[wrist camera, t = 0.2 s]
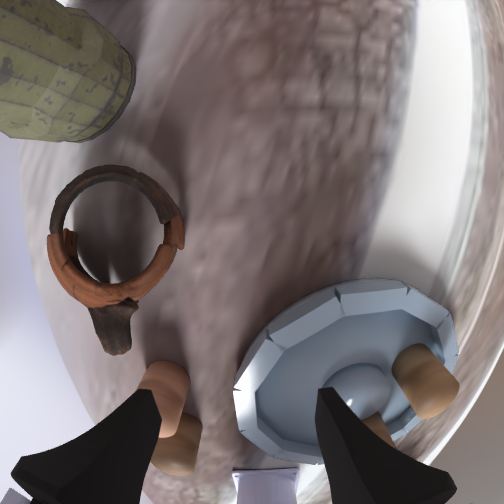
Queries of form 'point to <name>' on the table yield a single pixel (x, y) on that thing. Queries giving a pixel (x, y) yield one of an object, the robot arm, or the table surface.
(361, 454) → the robot arm
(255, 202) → the table surface
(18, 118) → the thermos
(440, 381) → the bead
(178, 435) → the tan wooden peg
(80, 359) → the table surface
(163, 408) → the reddish brown cylinder
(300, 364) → the ring tray
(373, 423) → the tan rounded cylinder
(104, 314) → the pottery mug
